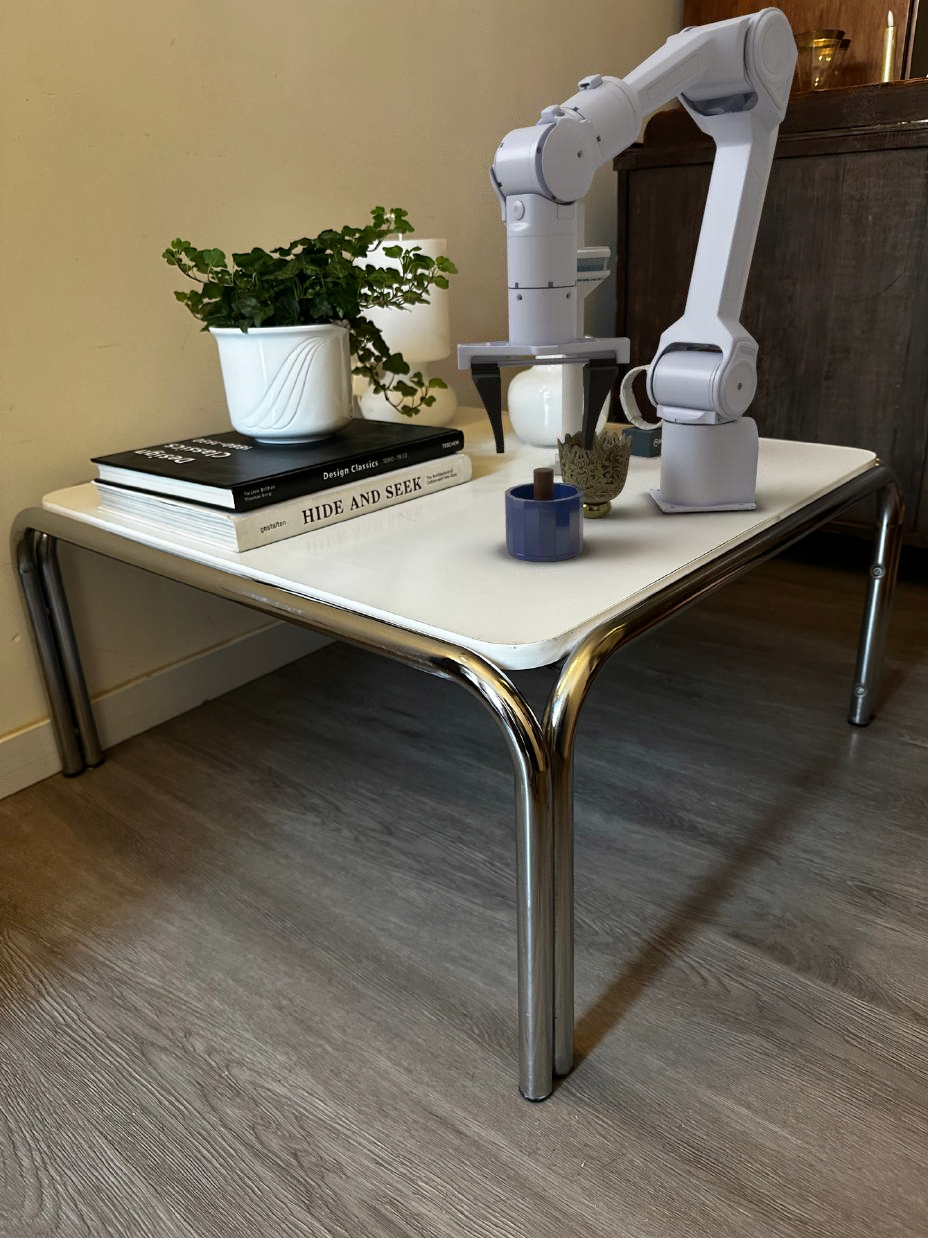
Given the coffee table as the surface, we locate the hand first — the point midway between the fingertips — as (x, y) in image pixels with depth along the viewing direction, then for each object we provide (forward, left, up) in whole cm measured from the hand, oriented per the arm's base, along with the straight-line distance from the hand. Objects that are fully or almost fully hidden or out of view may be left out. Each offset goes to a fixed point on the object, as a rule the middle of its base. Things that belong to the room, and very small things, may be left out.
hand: (543, 449), depth 82 cm
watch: (-17, -40, -9) cm, 44 cm away
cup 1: (0, 0, -9) cm, 9 cm away
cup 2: (-6, -11, -9) cm, 15 cm away
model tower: (-6, -31, -9) cm, 33 cm away
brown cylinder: (0, 0, -9) cm, 9 cm away
